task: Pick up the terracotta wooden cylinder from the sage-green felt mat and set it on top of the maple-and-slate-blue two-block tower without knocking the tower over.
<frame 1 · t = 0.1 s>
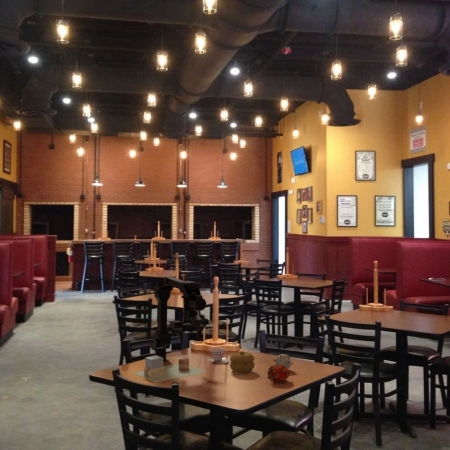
hand: (189, 341, 248), 14 cm above the table, fingers open, 9 cm apart
terracotta cylinder: (183, 369, 250), resting on felt mat
tower top: (154, 366, 241), point 4 cm above the table, touching tower base
tower base: (154, 375, 241), resting on felt mat, touching tower top
dragon fruit: (279, 382, 228), on the table
teacup: (218, 362, 267), on the table
felt mat: (169, 373, 246), on the table
pot: (242, 372, 245), on the table
game die: (283, 371, 247), on the table
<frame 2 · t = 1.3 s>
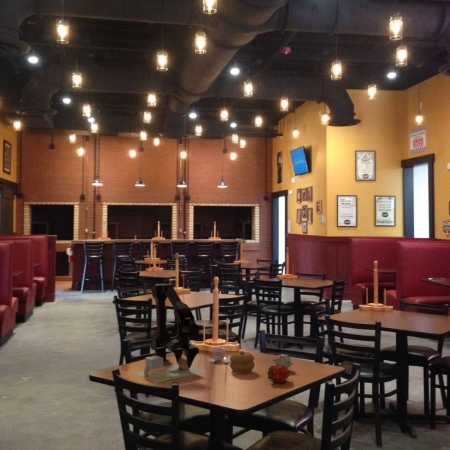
hand: (183, 366, 251), 2 cm above the table, fingers open, 9 cm apart
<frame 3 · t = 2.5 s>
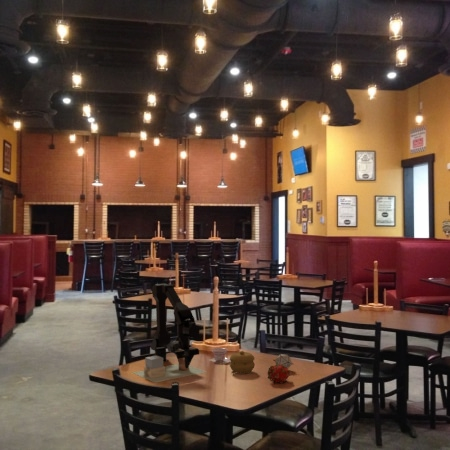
hand: (183, 367, 250), 2 cm above the table, fingers closed on terracotta cylinder, 5 cm apart
terracotta cylinder: (183, 369, 250), resting on felt mat, touching gripper
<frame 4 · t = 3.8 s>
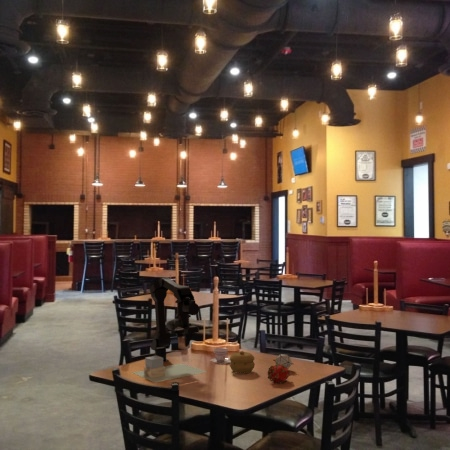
hand: (183, 345, 251), 12 cm above the table, fingers closed on terracotta cylinder, 5 cm apart
terracotta cylinder: (183, 347, 251), point 11 cm above the table, touching gripper
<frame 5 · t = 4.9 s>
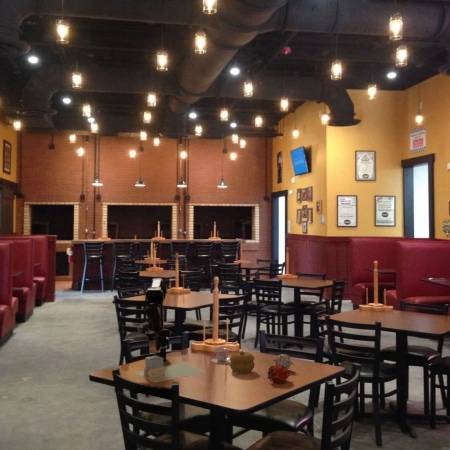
hand: (154, 349, 241), 12 cm above the table, fingers closed on terracotta cylinder, 5 cm apart
terracotta cylinder: (154, 351, 241), point 11 cm above the table, touching gripper
when the fingers open (10 cm above the table, at t = 5.6 s): terracotta cylinder stays where it is, resting on tower top.
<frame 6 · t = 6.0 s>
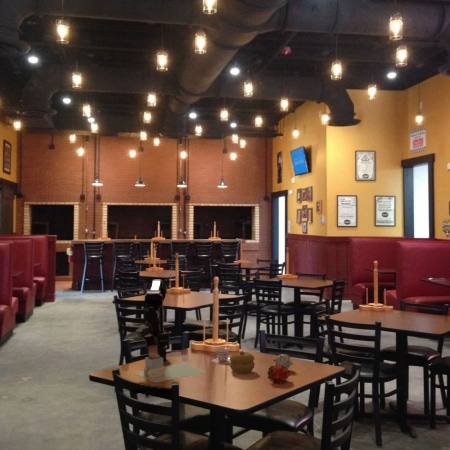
hand: (154, 353, 241), 10 cm above the table, fingers open, 9 cm apart
terracotta cylinder: (154, 357, 241), point 9 cm above the table, touching tower top
tower top: (154, 366, 241), point 4 cm above the table, touching terracotta cylinder, tower base
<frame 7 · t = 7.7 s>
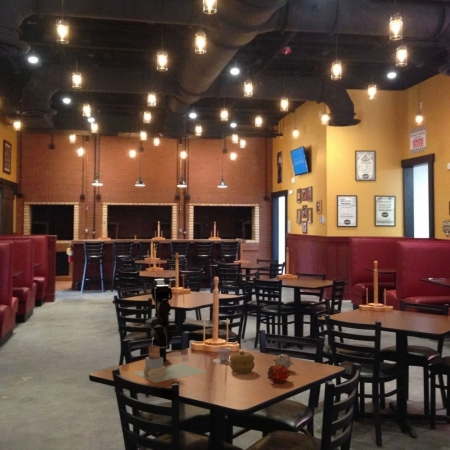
hand: (163, 343, 253), 13 cm above the table, fingers open, 9 cm apart
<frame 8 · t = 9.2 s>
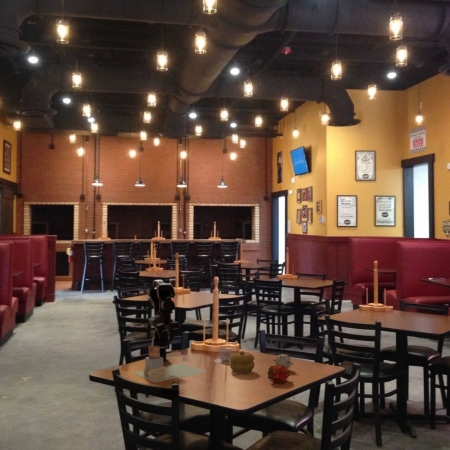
hand: (165, 341, 256), 13 cm above the table, fingers open, 9 cm apart
at the end: terracotta cylinder 0.0 cm off-centre on the tower base, point 8.0 cm above the tower base's base; tower top 0.0 cm off-centre on the tower base, point 4.0 cm above the tower base's base; terracotta cylinder tilted 0° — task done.
